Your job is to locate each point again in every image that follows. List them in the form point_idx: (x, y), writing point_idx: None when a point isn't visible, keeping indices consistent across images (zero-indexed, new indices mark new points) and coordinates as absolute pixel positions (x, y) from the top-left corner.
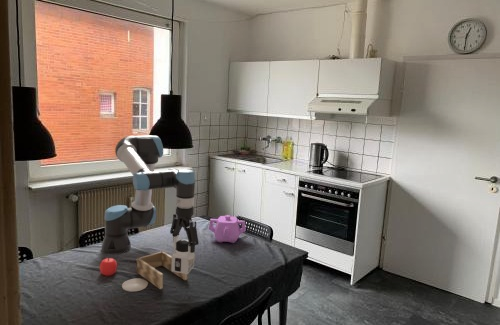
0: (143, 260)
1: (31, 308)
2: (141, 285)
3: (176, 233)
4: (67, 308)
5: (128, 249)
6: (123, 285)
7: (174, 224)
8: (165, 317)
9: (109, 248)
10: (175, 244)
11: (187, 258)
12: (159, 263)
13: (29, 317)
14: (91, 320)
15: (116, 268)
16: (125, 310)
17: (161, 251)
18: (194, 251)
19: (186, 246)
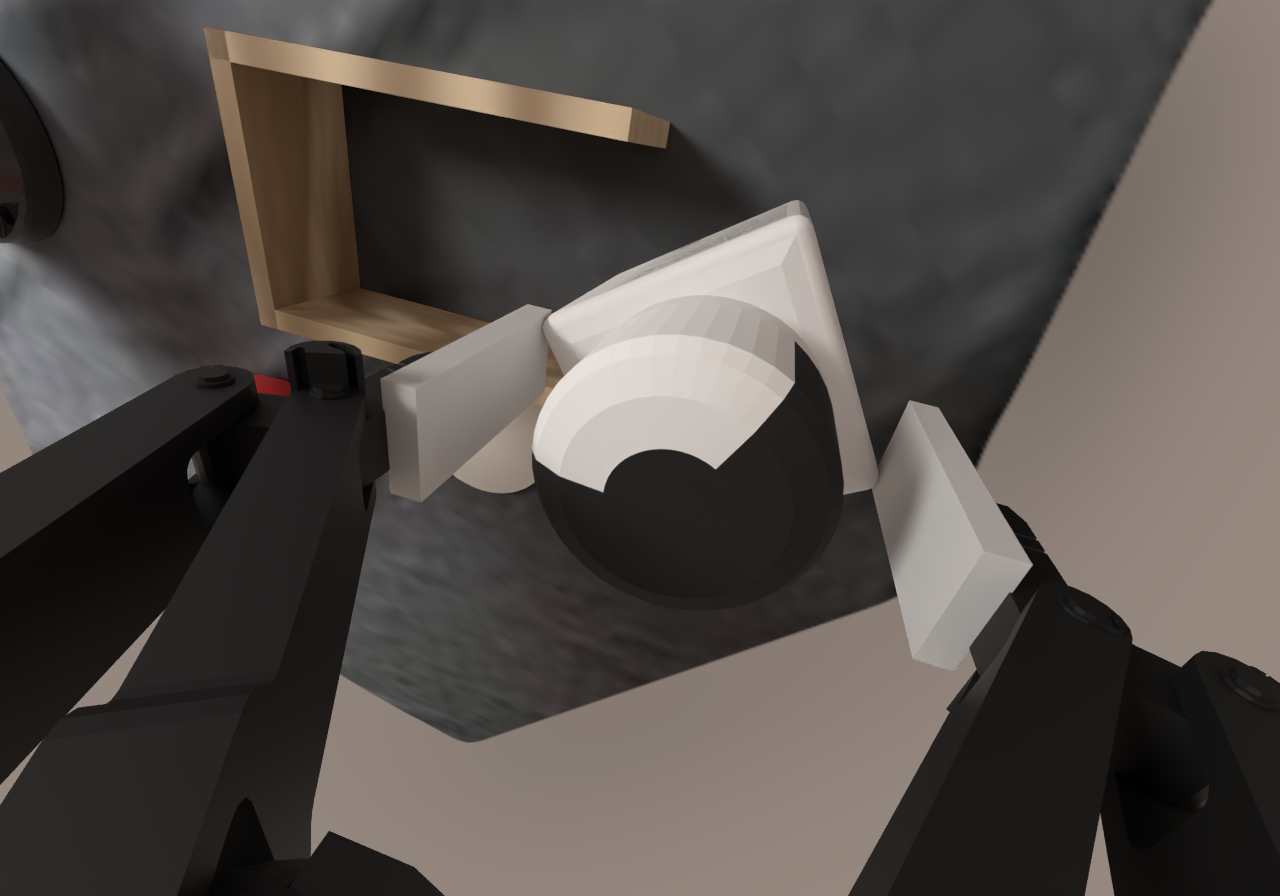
0: (290, 274)
1: (408, 704)
2: (517, 419)
3: (361, 500)
4: (478, 672)
5: (14, 91)
6: (456, 471)
7: (61, 684)
8: (873, 581)
9: (2, 226)
10: (499, 412)
11: (864, 487)
12: (325, 107)
13: (455, 734)
14: (610, 696)
15: (276, 385)
16: (653, 609)
17: (211, 48)
18: (1019, 522)
19: (815, 557)
